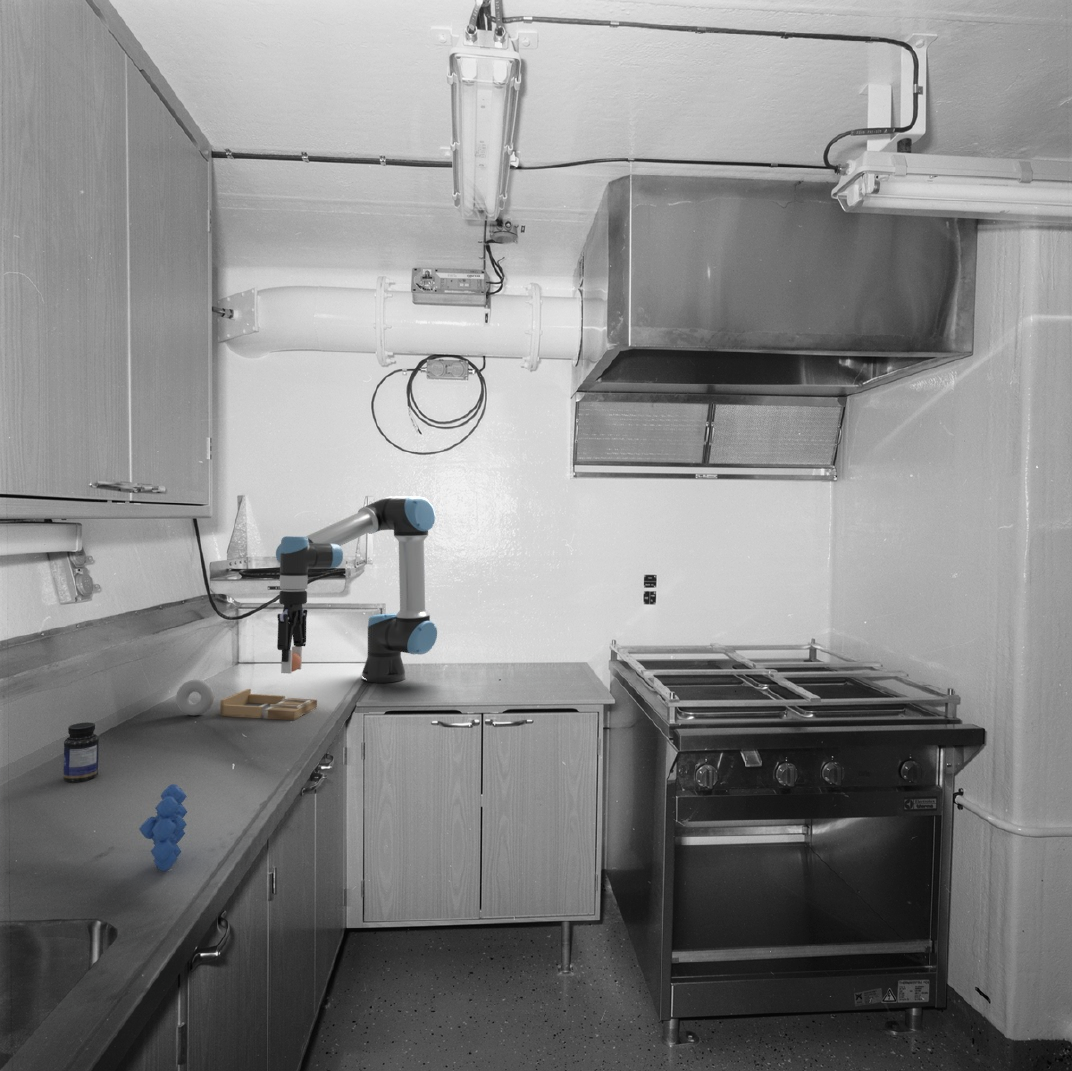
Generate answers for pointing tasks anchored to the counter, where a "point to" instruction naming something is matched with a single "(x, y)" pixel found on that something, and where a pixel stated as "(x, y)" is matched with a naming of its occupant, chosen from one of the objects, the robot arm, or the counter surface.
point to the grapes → (166, 827)
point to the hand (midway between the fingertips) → (291, 670)
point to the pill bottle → (81, 753)
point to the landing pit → (247, 704)
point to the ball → (295, 662)
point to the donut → (185, 702)
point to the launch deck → (290, 708)
